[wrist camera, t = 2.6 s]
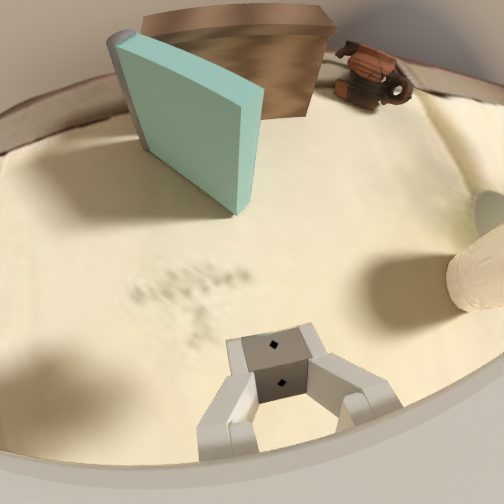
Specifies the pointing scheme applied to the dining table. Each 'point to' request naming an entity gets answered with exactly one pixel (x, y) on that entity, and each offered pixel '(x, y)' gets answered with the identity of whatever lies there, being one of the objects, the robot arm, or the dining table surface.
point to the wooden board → (255, 46)
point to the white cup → (478, 273)
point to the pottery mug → (371, 77)
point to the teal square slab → (191, 114)
